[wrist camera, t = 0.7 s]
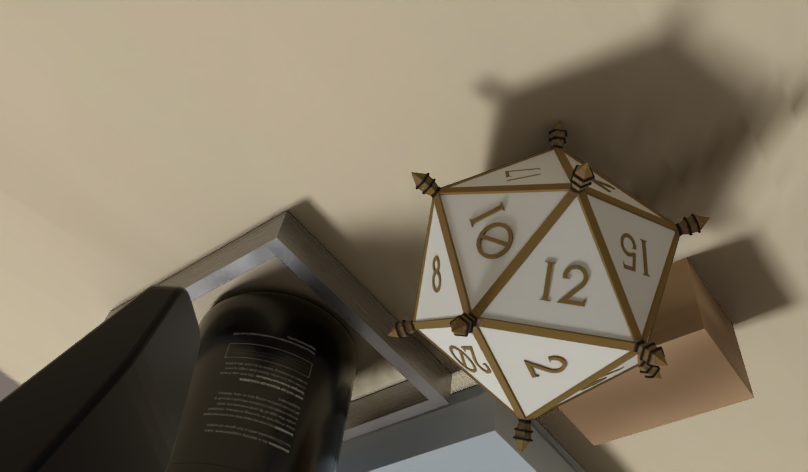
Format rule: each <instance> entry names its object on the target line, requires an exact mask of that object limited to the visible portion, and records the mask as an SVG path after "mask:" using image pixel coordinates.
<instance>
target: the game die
mask: <svg viewBox="0 0 808 472" xmlns="http://www.w3.org/2000/svg"><path fill="white" fill-rule="evenodd" d="M549 134H551V135H550V139H549V141H550V142H551V148H550V149H548V150H545V151H542V152H540V153H537V154H534V155H531V156H528V157H526V158H523V159H520V160H517V161H514V162H512V163H509V164H506V165H503V166H500V167H498V168H495V169H492V170H489V171H486V172H484V173H481V174H478V175H475V176H472V177H470V178H467V179H464V180H461V181H458V182H456V183H453V184H450V185H447V186H444V187H442V188H440V187H438V186H437V184H436V183H435V179H432V178H431V177H430V176H429V173H427V174H422V173H414V172H411V173H412V176H413V178H414V181H415V184H416V189H418V188H419V189H420V190H421V191H423V192H422V193H423V194H425V193H426V194H428V195H431V196H432V204H431V211H430V217H429V223H428V230H427V236H426V242H425V249H424V255H423V261H422V268H421V274H420V280H419V287H418V293H417V299H416V306H415V312H414V318H413V320H412V321H405V320H403V322H401V323H398V322H396V324H395V326H394V328H393V329H392V330H391V332H390V333H389V334H388V335H387V336H392V337H398V338H399V339H402V340H403V339H404V337H406V336H409V337H410V336H411V334H412V333H413V332H414V331H418V332H419V333H420V334H421V335H422V336H423V337H425V338H426V339H427V340H428V341H429V342H430V343H432V344H433V345H434V346H435V347H436V348H437V349H439V350H440V351H441V352H442V353H443V354H444V355H445V356H447V357H448V358H449V359H450V360H451V361H452V362H454V363H455V364H456V365H457V366H458V367H459V368H460V369H462V370H463V371H464V372H465V373H466V374H467V375H469V376H470V377H471V378H472V379H473V380H474V381H475V382H477V383H478V384H479V385H480V386H481V387H482V388H484V389H485V390H486V391H487V392H488V393H489V394H490V395H492V396H493V397H494V398H495V399H496V400H497V401H499V402H500V403H501V404H502V405H503V406H504V407H506V408H507V409H508V410H509V411H510V412H511V413H512V414H514V415H515V416H516V417H517V418H518V420H519V423H518V425H517V427H516V428H514V430H516V432H515V436H513V438H514V439H515V441H516V444H517V446H518V448H519V451H520V453H521V452H522V451H523V450H524V449H525V448H526V446H527V445H528V444H529V443H530V442H531V441H533V439H531V434H532V433H533V431H532V430H531V424H530V423H531V421H532V420H534V419H536V418H538V417H540V416H541V415H543V414H545V413H547V412H549V411H551V410H553V409H555V408H557V407H559V406H561V405H563V404H565V403H567V402H569V401H571V400H573V399H575V398H577V397H579V396H581V395H583V394H585V393H587V392H588V391H590V390H592V389H594V388H596V387H598V386H600V385H602V384H604V383H606V382H608V381H610V380H612V379H614V378H616V377H618V376H620V375H622V374H624V373H626V372H628V371H630V370H632V369H634V368H635V367H637V366H638V367H639V369H640V373H643V374H644V375H645V378H659V379H662V377H661V374H660V367H659V366H668V364H667V362H666V360H665V354H664V351H663V348H662V347H661V346H660V347H657V346H656V345H655V343H654V342H652V343H649V342H650V339H651V335H652V332H653V328H654V325H655V321H656V318H657V314H658V311H659V307H660V304H661V300H662V297H663V293H664V290H665V286H666V283H667V279H668V276H669V272H670V269H671V265H672V262H673V258H674V255H675V251H676V248H677V244H678V241H679V237H680V236H681V235H682V234H690V235H692V233H694V232H697V231H698V232H699V233H700V232H701V231H700V230H701V229H702V227H703V226H704V225H705V224H706V222H707V221H708V220H709V218H708V217H702V216H696V215H694V214H691V216H690V217H688V218H686V217H684V218H683V220H682V221H681V222H679V223H677V224H674V223H673V222H671V221H670V220H668V219H667V218H665V217H664V216H662V215H661V214H659V213H658V212H656V211H655V210H653V209H652V208H650V207H649V206H647V205H646V204H644V203H643V202H641V201H640V200H638V199H637V198H635V197H634V196H632V195H631V194H629V193H628V192H626V191H625V190H623V189H622V188H620V187H619V186H617V185H616V184H614V183H613V182H611V181H610V180H608V179H607V178H605V177H604V176H602V175H601V174H599V173H598V172H597V171H595V170H594V169H592V168H591V167H589V164H588V162H587V163H583V162H582V161H580V160H579V159H577V158H576V157H574V156H573V155H571V154H570V153H568V152H567V151H565V150H564V149H562V147H563V145H564V143H566V139H565V137H566V136H567V131H566V130H564V128H563V125H562V123H561V121H560V122H559V123H558V124H557V125H556V126H555V128H554V129H553V130H551V131H550V132H549Z"/></svg>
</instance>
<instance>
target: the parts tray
mask: <svg viewBox="0 0 808 472" xmlns="http://www.w3.org/2000/svg"><path fill="white" fill-rule="evenodd" d="M518 423H519V420H518V418H517V417H516V416H515V415H514V414H512V413H511V412H510V411H509V410H508V409H507V408H506V407H504V406H503V405H502V404H501V403H500V402H499V401H497V400H496V399H495V398H494V397H493V396H492V395H490V394H489V393H488V392H487V391H486V390H485V389H484V388H482V387H481V386H480V385H476V386H474V387H471V388H468V389H465V390H463V391H460V392H457V393H454V394H452V395H450V404H447V405H444V406H442V407H439V408H436V409H433V410H430V411H427V412H425V413H422V414H419V415H416V416H413V417H411V418H408V419H405V420H402V421H399V422H397V423H394V424H391V425H388V426H385V427H382V428H380V429H377V430H374V431H371V432H368V433H366V434H363V435H360V436H357V437H354V438H352V439H349V440H346V441H343V442H342V446H341V451H340V456H339V461H338V466H337V471H336V472H586V471H585V470H584V469H583V468H582V467H581V466H580V465H579V464H578V463H577V462H576V461H575V460H574V459H573V458H572V457H571V456H570V455H569V454H568V453H567V452H566V451H565V450H564V449H563V447H562V446H561V445H560V444H559V443H558V442H557V441H556V440H555V439H554V438H553V437H552V436H551V435H550V434H549V433H548V432H547V431H546V430H545V429H544V428H543V427H542V426H541V425H540V424H539V422H538V421H537V420H536V419H534V420H532V421H531V423H530V424H531V430H532V431H533V433H532V434H531V439H533V441H531V442H530V443H529V444H528V445H527V446H526V448H525V449H524V450H523V451H522V452H521V453H520V451H519V448H518V446H517V444H516V441H515V439H514V438H513V436H515V432H516V430H514V428H516V427H517V425H518Z"/></svg>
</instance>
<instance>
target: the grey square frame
mask: <svg viewBox="0 0 808 472" xmlns="http://www.w3.org/2000/svg"><path fill="white" fill-rule="evenodd" d="M275 256H277V257H278V258H279V259H280V260H281V261H282V262H283V263H284V264H285V265H286V266H287V267H289V268H290V269H291V270H292V271H293V272H294V273H295V274H296V275H297V276H298V277H299V278H300V279H301V280H302V281H303V282H304V283H306V284H307V285H308V286H309V287H310V288H311V289H312V290H313V291H314V292H315V293H316V294H317V295H318V296H319V297H320V298H321V299H322V300H324V301H325V302H326V303H327V304H328V305H329V306H330V307H331V308H332V309H333V310H334V311H335V312H336V313H337V314H338V315H339V316H341V317H342V318H343V319H344V320H345V321H346V322H347V323H348V324H349V325H350V326H351V327H352V328H353V329H354V330H355V331H356V332H358V333H359V334H360V335H361V336H362V337H363V338H364V339H365V340H366V341H367V342H368V343H369V344H370V345H371V346H372V347H373V348H374V349H376V350H377V351H378V352H379V353H380V354H381V355H382V356H383V357H384V358H385V359H386V360H387V361H388V362H389V363H390V364H391V365H393V366H394V367H395V368H396V369H397V370H398V371H399V372H400V373H401V374H402V375H403V376H404V377H405V378H406V379H407V380H408V381H405V382H403V383H400V384H397V385H395V386H392V387H390V388H387V389H384V390H382V391H379V392H377V393H374V394H371V395H369V396H366V397H364V398H361V399H358V400H356V401H353V402H351V403H350V406H349V411H348V416H347V421H346V426H345V431H344V436H343V441H346V440H349V439H352V438H354V437H357V436H360V435H363V434H366V433H368V432H371V431H374V430H377V429H380V428H382V427H385V426H388V425H391V424H394V423H397V422H399V421H402V420H405V419H408V418H411V417H413V416H416V415H419V414H422V413H425V412H427V411H430V410H433V409H436V408H439V407H442V406H444V405H447V404H450V392H451V380H452V374H451V373H450V372H449V371H448V370H447V369H446V368H445V367H444V366H443V365H442V364H441V363H440V362H439V361H438V360H437V359H436V358H435V357H434V356H433V355H432V354H431V353H430V352H429V351H428V350H427V349H426V348H425V347H424V346H423V345H422V344H421V343H420V342H419V341H418V340H417V339H416V338H415V337H414V336H413V335H412V334H411V336H410V337H409V336H406V337H404V339H403V340H402V339H399V338H398V337H392V336H387V335H388V334H389V333H390V332H391V330H392V329H393V328H394V326H395V324H396V322H398V321H397V320H396V319H395V318H394V317H393V316H392V315H391V314H390V313H389V312H388V311H387V310H386V309H385V308H384V307H383V306H382V305H381V304H380V303H379V302H378V301H377V300H376V299H375V298H374V297H373V296H372V295H371V294H370V293H369V292H368V291H367V290H366V289H365V288H364V287H363V286H362V285H361V284H360V283H359V282H358V281H357V280H356V279H355V278H354V277H353V276H352V275H351V274H350V273H349V272H348V271H347V270H346V269H345V268H344V267H343V266H342V265H341V264H340V263H339V262H338V261H337V260H336V259H335V258H334V257H333V256H332V255H331V254H330V253H329V252H328V251H327V250H326V249H325V248H324V247H323V246H322V245H321V244H320V243H319V242H318V241H317V240H316V239H315V238H314V237H313V236H312V235H311V234H310V233H309V232H308V231H307V230H306V229H305V228H304V227H303V226H302V225H301V224H300V223H299V222H298V221H297V220H296V219H295V218H294V217H293V216H292V215H291V214H290V213H289V212H288V211H285V212H284V213H282V214H280V215H278V216H277V217H275V218H273V219H271V220H270V221H268V222H266V223H264V224H263V225H261V226H259V227H257V228H256V229H254V230H252V231H250V232H249V233H247V234H245V235H243V236H242V237H240V238H238V239H236V240H235V241H233V242H231V243H229V244H228V245H226V246H224V247H222V248H221V249H219V250H217V251H215V252H214V253H212V254H210V255H208V256H207V257H205V258H203V259H201V260H200V261H198V262H196V263H194V264H193V265H191V266H189V267H187V268H186V269H184V270H182V271H180V272H179V273H177V274H175V275H174V276H172V277H170V278H168V279H167V280H165V281H163V282H161V283H160V284H158V285H170V286H181V287H184V288H185V289H186V290H187V291H188V293H189V296H190V299H191V301H193V300H195V299H197V298H198V297H200V296H202V295H204V294H206V293H208V292H210V291H211V290H213V289H215V288H217V287H219V286H221V285H223V284H224V283H226V282H228V281H230V280H232V279H234V278H236V277H237V276H239V275H241V274H243V273H245V272H247V271H249V270H250V269H252V268H254V267H256V266H258V265H260V264H262V263H263V262H265V261H267V260H269V259H271V258H273V257H275ZM133 299H134V298H133ZM133 299H132V300H133ZM132 300H130V301H132ZM130 301H128V302H126V303H125V304H123V305H121V306H119V307H118V308H116V309H114V310H112V311H111V312H109V314H108V316H107V317H106V319H105V320H107V319H108V318H109V317H111V316H112V315H113V314H115V313H116V312H117V311H118V310H120V309H121V308H122V307H124V306H125V305H126V304H128V303H129V302H130ZM398 323H399V322H398ZM343 441H342V442H343Z"/></svg>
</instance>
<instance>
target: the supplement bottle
mask: <svg viewBox="0 0 808 472" xmlns="http://www.w3.org/2000/svg"><path fill="white" fill-rule="evenodd" d="M199 329H200V336H201V337H200V348H199V352H198V356H197V360H196V364H195V368H194V372H193V376H192V380H191V384H190V388H189V392H188V395H187V399H186V403H185V407H184V411H183V415H182V419H181V423H180V427H179V431H178V435H177V438H176V442H175V446H174V449H173V453H172V456H171V459H170V462H169V465H168V468H167V470H166V472H336V471H337V466H338V461H339V456H340V451H341V446H342V441H343V436H344V431H345V426H346V421H347V416H348V411H349V406H350V401H351V396H352V391H353V385H354V380H355V374H356V368H357V355H356V349H355V346H354V344H353V341H352V339H351V337H350V335H349V334H348V332H347V331H346V330H345V328H344V327H343V326H342V325H341V324H340V322H339V321H338V320H336V319H335V318H334V317H333V316H332V315H331V314H329V313H328V312H327V311H325V310H323V309H322V308H320V307H319V306H317V305H315V304H313V303H311V302H309V301H306V300H304V299H301V298H298V297H295V296H291V295H287V294H282V293H276V292H249V293H243V294H239V295H235V296H232V297H230V298H227V299H225V300H223V301H221V302H219V303H218V304H216V305H215V306H213V307H212V308H211V309H210V310H209V311H208V312H207V313H206V314H205V316H204V317H203V319H202V320H201V322H200V324H199Z"/></svg>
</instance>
